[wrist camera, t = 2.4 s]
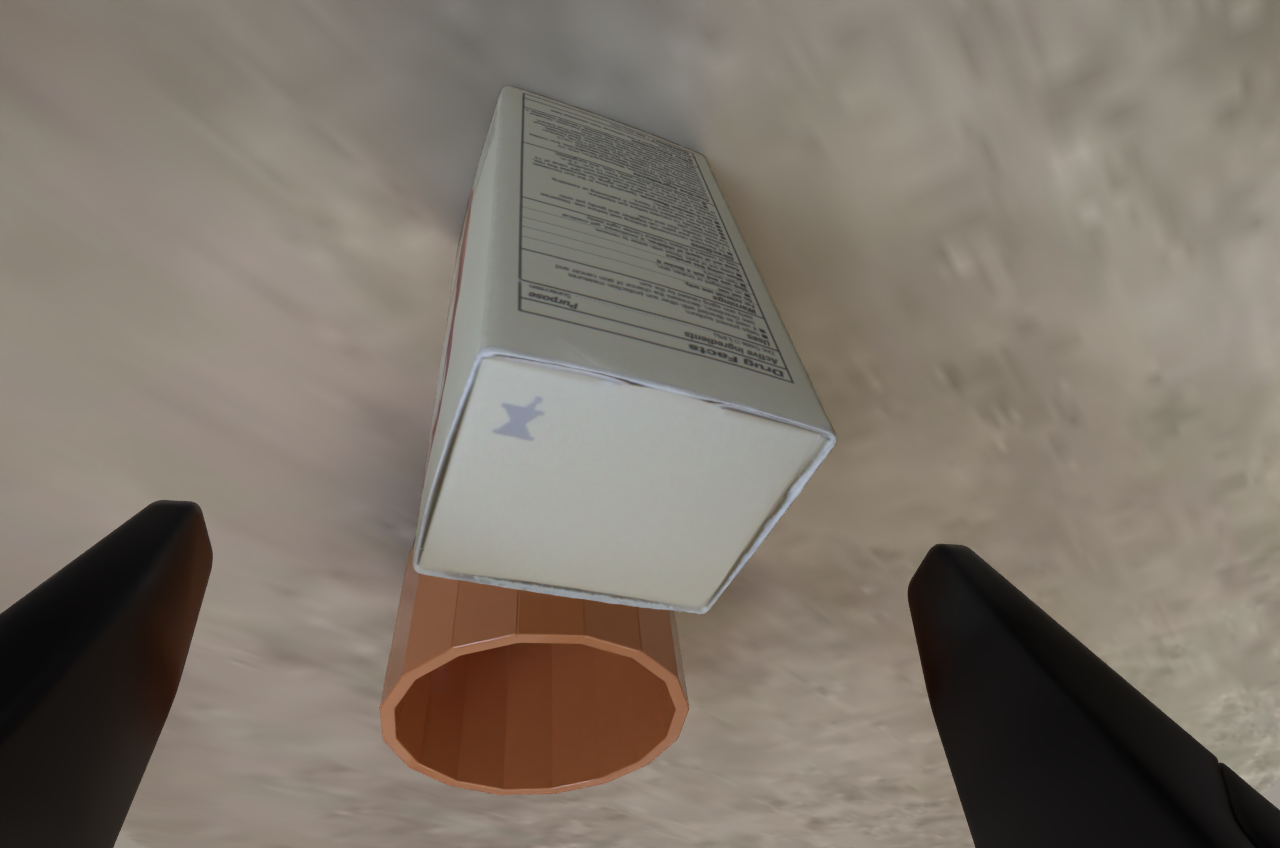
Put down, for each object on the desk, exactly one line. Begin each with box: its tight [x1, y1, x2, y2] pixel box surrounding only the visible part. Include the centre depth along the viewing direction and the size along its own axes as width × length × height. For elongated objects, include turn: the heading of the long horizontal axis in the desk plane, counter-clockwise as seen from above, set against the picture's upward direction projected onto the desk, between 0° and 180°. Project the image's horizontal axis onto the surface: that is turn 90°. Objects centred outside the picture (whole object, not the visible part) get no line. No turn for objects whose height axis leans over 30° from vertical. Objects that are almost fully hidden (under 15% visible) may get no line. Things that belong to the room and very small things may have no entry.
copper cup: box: [380, 536, 689, 795], centre depth 24 cm, size 9×9×6 cm
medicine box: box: [413, 86, 837, 615], centre depth 14 cm, size 5×4×10 cm
